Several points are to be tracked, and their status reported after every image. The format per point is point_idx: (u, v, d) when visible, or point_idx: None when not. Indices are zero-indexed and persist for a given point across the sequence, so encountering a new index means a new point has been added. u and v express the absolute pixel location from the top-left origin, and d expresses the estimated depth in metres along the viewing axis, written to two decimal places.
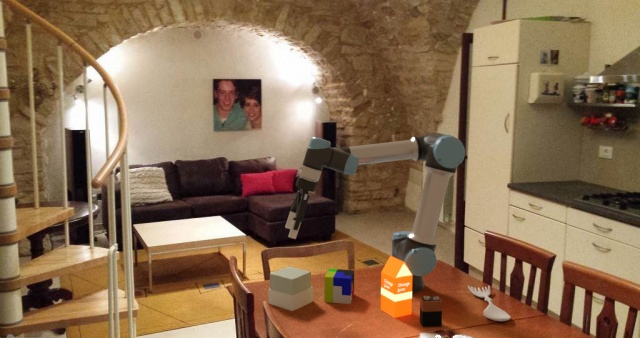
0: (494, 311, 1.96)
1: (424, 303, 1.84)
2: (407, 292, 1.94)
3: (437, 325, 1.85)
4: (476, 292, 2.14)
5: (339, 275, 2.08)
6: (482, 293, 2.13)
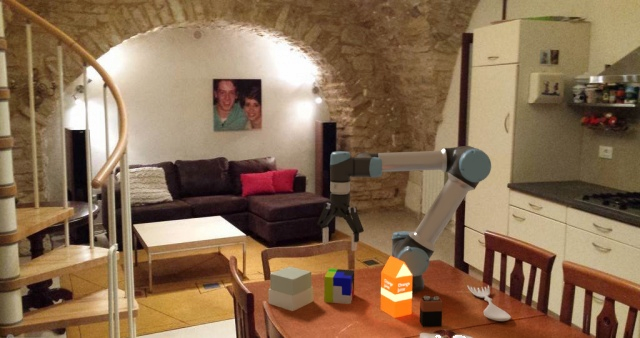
0: (494, 311, 1.96)
1: (424, 303, 1.84)
2: (407, 292, 1.94)
3: (437, 325, 1.85)
4: (476, 292, 2.14)
5: (339, 275, 2.08)
6: (482, 293, 2.13)
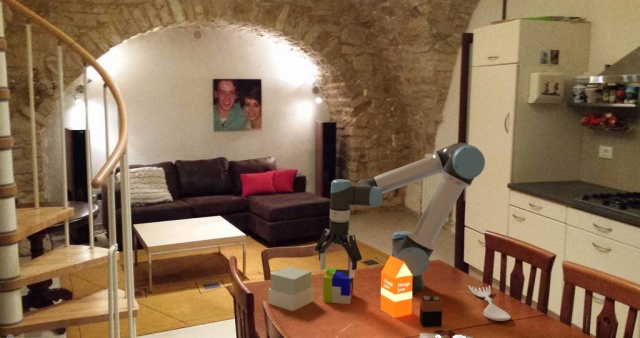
0: (494, 310, 1.96)
1: (424, 303, 1.84)
2: (407, 292, 1.94)
3: (437, 325, 1.85)
4: (476, 292, 2.14)
5: (338, 275, 2.08)
6: (482, 293, 2.13)
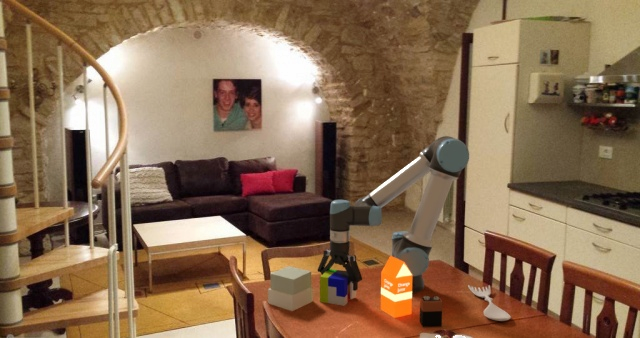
0: (494, 310, 1.96)
1: (424, 303, 1.84)
2: (407, 292, 1.94)
3: (437, 325, 1.85)
4: (476, 292, 2.14)
5: (335, 276, 2.07)
6: (482, 293, 2.13)
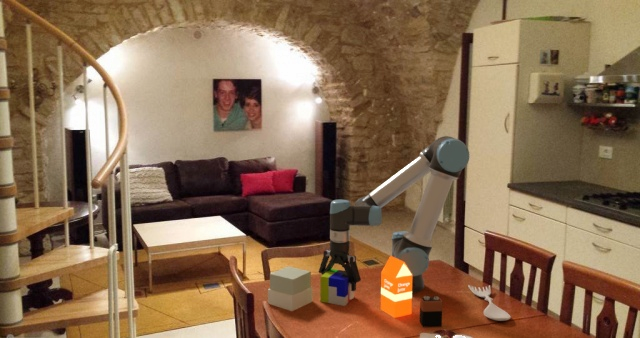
0: (494, 310, 1.96)
1: (424, 303, 1.84)
2: (407, 292, 1.94)
3: (437, 325, 1.85)
4: (476, 292, 2.14)
5: (336, 275, 2.07)
6: (482, 293, 2.13)
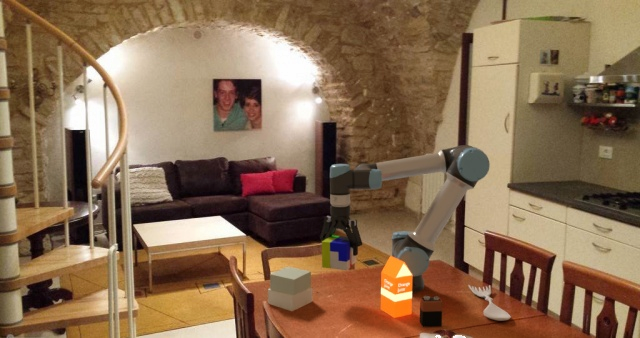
0: (494, 310, 1.96)
1: (424, 303, 1.84)
2: (407, 292, 1.94)
3: (437, 325, 1.85)
4: (477, 292, 2.14)
5: (337, 240, 2.05)
6: (483, 293, 2.14)
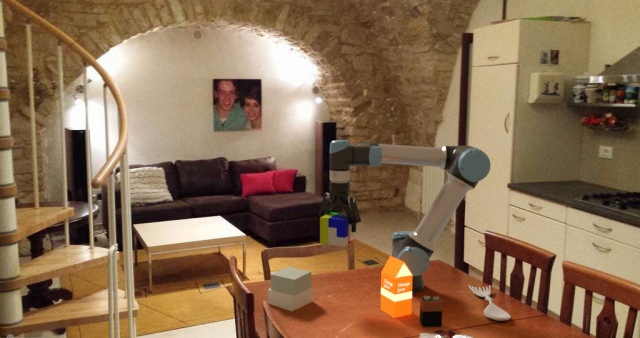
0: (494, 310, 1.96)
1: (424, 303, 1.84)
2: (407, 292, 1.94)
3: (437, 325, 1.85)
4: (477, 291, 2.14)
5: (336, 217, 2.03)
6: (483, 293, 2.14)
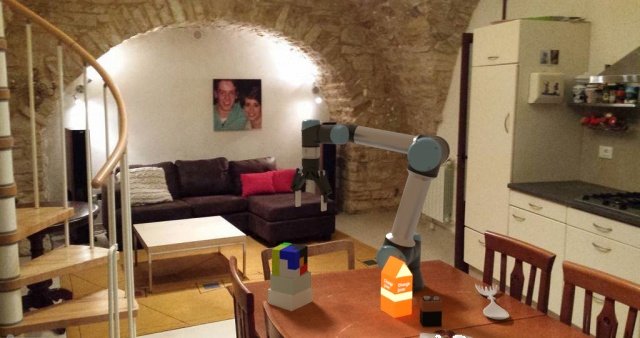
0: (495, 309, 1.97)
1: (424, 303, 1.84)
2: (407, 292, 1.94)
3: (437, 325, 1.85)
4: (482, 291, 2.15)
5: (287, 248, 2.02)
6: (488, 292, 2.14)
